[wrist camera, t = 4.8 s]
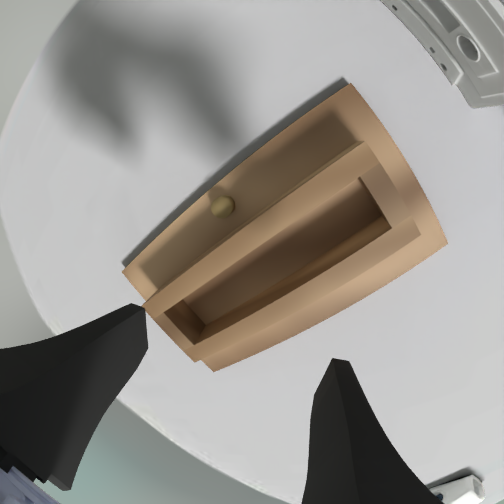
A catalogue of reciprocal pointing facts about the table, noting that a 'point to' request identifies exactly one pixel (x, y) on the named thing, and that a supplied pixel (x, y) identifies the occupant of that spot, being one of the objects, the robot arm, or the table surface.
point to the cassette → (461, 43)
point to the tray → (288, 237)
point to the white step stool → (461, 491)
